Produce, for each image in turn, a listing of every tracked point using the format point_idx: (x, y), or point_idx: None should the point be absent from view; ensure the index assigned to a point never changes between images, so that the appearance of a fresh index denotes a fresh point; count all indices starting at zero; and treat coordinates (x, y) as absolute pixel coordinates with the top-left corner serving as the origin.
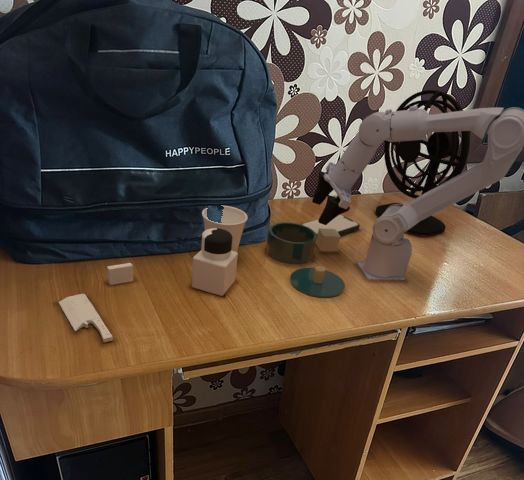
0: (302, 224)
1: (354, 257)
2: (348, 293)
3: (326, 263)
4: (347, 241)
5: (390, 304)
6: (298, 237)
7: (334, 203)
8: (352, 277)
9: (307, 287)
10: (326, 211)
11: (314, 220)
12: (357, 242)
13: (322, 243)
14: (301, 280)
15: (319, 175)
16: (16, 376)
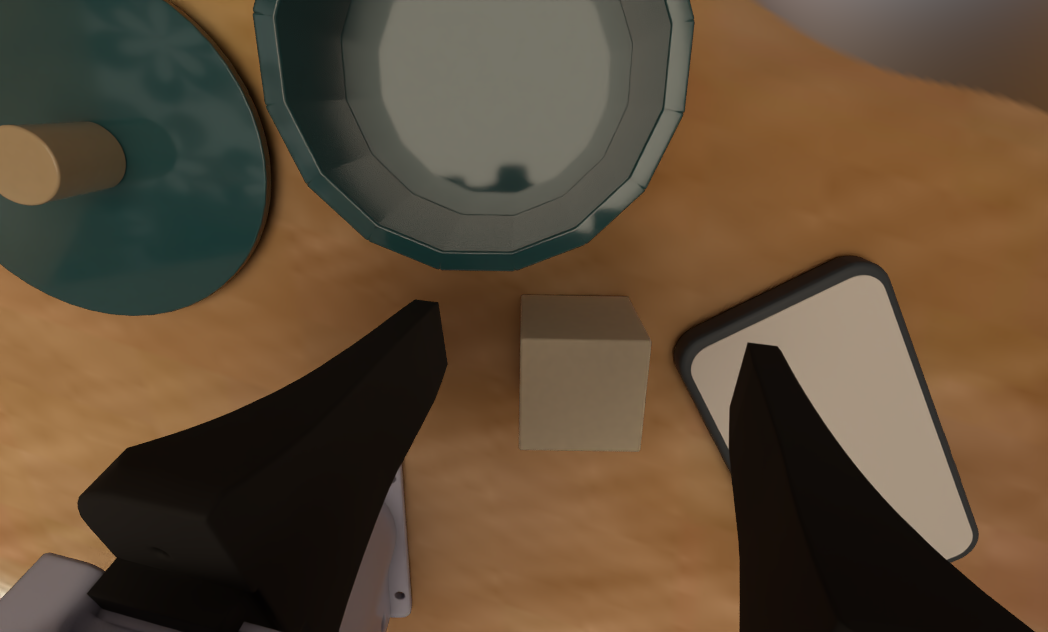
0: (874, 278)
1: (479, 467)
2: (72, 312)
3: (396, 294)
4: (666, 489)
5: (24, 476)
6: (609, 168)
7: (90, 520)
8: (253, 387)
9: None
10: (284, 390)
11: (919, 377)
12: (651, 534)
13: (521, 318)
14: (70, 41)
15: (960, 622)
16: None
